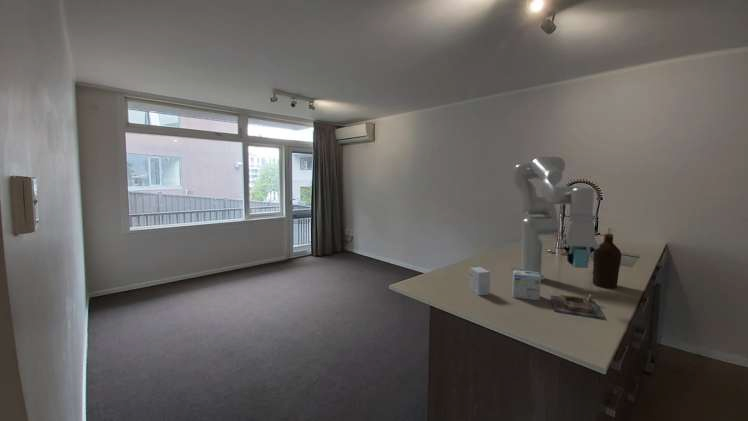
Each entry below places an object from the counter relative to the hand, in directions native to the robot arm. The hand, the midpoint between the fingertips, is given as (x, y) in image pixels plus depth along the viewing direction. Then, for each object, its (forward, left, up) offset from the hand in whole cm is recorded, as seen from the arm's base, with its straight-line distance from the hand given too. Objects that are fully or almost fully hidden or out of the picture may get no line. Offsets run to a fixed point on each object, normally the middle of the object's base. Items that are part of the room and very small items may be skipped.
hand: (577, 262), depth 126 cm
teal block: (0, 0, -1) cm, 1 cm away
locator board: (0, -3, -18) cm, 18 cm away
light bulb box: (-18, +1, -18) cm, 26 cm away
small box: (-37, -2, -18) cm, 41 cm away
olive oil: (+17, +32, -18) cm, 41 cm away
